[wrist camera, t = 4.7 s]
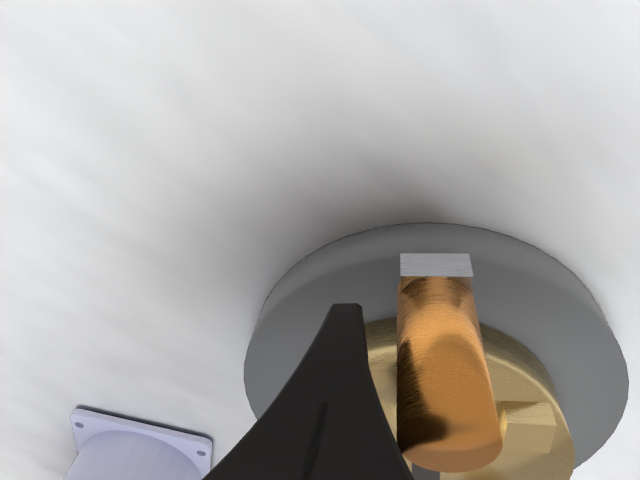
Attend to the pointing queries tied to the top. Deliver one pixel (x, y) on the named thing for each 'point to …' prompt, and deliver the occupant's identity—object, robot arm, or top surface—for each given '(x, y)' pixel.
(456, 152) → the top surface
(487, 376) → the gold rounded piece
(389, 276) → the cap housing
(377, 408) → the robot arm
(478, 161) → the top surface
